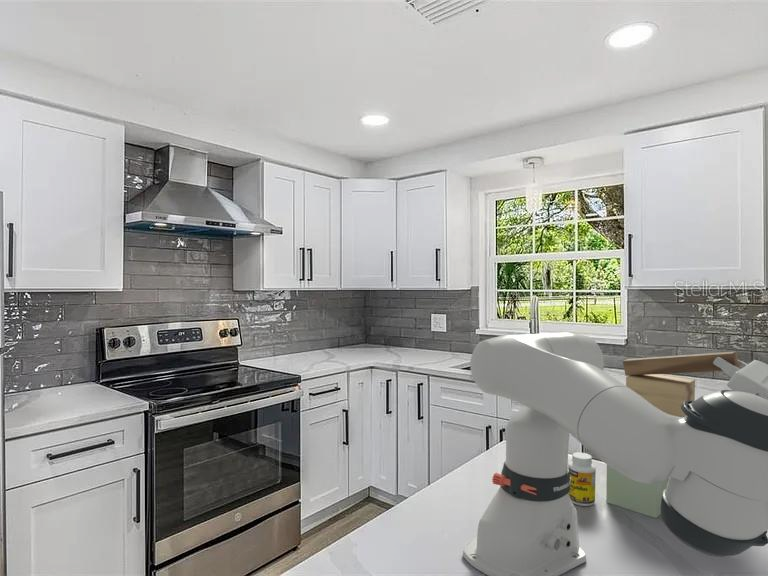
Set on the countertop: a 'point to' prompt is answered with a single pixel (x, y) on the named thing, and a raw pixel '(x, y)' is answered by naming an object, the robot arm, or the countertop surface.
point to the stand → (663, 391)
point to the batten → (677, 364)
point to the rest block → (634, 493)
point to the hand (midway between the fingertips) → (718, 357)
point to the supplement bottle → (582, 479)
